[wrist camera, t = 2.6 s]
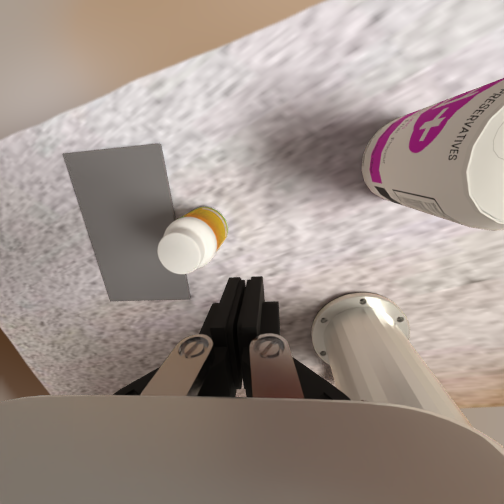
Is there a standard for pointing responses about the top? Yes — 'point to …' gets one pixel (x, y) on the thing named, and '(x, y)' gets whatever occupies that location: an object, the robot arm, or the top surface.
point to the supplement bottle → (192, 240)
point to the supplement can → (445, 159)
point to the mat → (127, 219)
